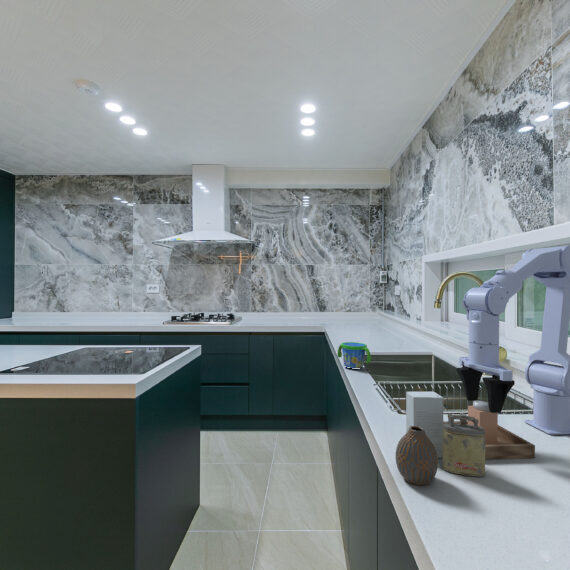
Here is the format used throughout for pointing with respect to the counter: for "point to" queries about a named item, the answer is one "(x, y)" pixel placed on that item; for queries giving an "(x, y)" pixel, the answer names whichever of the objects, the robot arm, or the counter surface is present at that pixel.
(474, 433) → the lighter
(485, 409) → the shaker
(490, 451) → the tray
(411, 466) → the vase
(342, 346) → the snack cup
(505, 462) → the counter surface
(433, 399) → the skincare box
